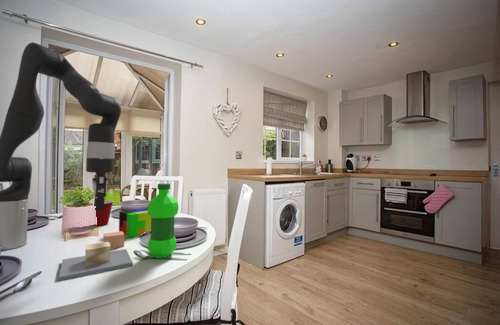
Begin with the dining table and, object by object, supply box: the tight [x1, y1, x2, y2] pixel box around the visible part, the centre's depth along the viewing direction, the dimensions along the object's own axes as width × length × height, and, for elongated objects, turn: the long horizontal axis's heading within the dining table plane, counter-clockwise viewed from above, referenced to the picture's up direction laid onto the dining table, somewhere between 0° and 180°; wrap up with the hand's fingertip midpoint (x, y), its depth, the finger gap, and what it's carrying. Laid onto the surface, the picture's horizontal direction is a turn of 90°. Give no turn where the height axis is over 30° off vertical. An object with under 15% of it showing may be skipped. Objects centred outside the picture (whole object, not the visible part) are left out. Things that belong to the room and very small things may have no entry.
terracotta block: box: [102, 231, 125, 250], centre depth 91 cm, size 6×5×5 cm
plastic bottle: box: [147, 183, 179, 259], centre depth 83 cm, size 10×10×25 cm
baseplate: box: [58, 248, 134, 282], centre depth 75 cm, size 18×14×1 cm
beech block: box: [84, 242, 111, 266], centre depth 75 cm, size 6×5×5 cm
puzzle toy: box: [118, 208, 151, 239], centre depth 109 cm, size 10×10×10 cm
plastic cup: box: [96, 200, 114, 227], centre depth 122 cm, size 11×11×12 cm
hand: (98, 208), depth 75 cm, fingers open, 8 cm apart
